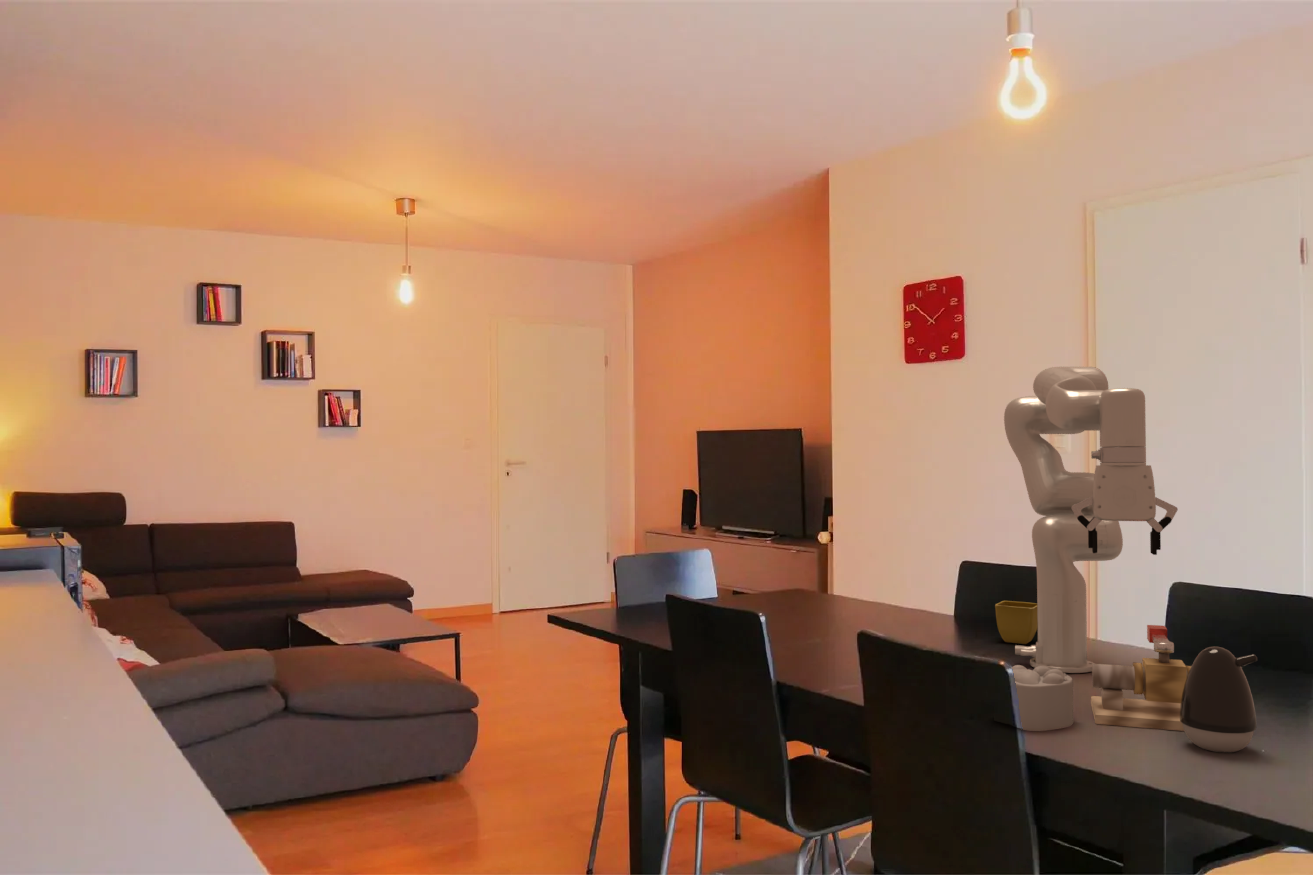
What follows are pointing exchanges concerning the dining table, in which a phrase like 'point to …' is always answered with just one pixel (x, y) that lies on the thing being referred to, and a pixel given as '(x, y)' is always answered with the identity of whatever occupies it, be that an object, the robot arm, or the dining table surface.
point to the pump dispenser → (1218, 702)
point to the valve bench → (1152, 680)
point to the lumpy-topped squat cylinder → (1044, 698)
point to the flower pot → (1016, 621)
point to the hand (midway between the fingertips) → (1124, 553)
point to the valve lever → (1159, 639)
